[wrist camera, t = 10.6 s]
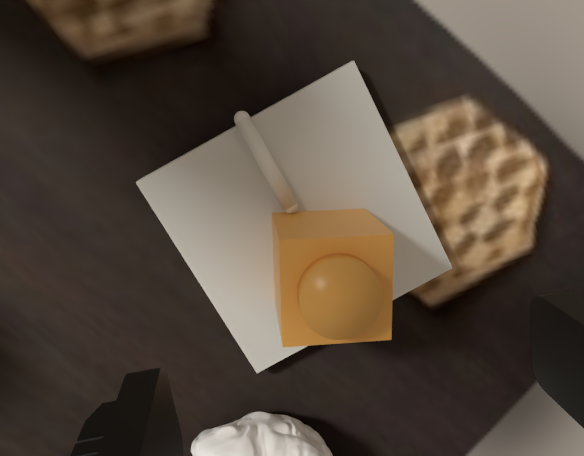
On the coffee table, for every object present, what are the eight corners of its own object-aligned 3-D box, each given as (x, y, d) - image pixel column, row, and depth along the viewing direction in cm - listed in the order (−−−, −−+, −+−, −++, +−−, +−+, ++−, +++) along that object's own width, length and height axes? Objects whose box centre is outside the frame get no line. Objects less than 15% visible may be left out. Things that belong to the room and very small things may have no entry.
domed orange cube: (271, 212, 31) (280, 247, 24) (365, 208, 31) (401, 240, 24) (274, 301, 32) (284, 359, 25) (364, 296, 32) (398, 350, 26)
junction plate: (133, 169, 30) (110, 185, 25) (344, 51, 30) (367, 41, 25) (256, 364, 34) (259, 414, 29) (445, 262, 34) (484, 293, 28)
